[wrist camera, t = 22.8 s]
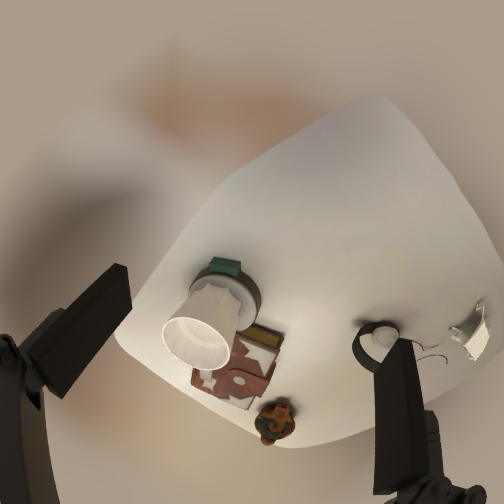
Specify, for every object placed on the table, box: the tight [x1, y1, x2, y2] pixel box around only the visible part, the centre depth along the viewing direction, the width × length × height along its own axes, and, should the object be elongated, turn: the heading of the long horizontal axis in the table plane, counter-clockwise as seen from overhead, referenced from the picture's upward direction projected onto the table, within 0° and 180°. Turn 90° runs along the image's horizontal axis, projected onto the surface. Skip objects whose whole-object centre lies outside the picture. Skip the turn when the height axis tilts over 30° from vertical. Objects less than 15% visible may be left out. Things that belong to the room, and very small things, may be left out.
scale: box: [188, 257, 261, 331], centre depth 48 cm, size 13×12×3 cm
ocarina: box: [255, 403, 295, 446], centre depth 61 cm, size 10×15×8 cm, turn 175°
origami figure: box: [451, 304, 491, 361], centre depth 40 cm, size 12×8×5 cm
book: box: [191, 324, 284, 410], centre depth 55 cm, size 23×16×5 cm
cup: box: [162, 282, 242, 370], centre depth 43 cm, size 10×10×10 cm
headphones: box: [352, 323, 448, 373], centre depth 42 cm, size 10×4×20 cm
